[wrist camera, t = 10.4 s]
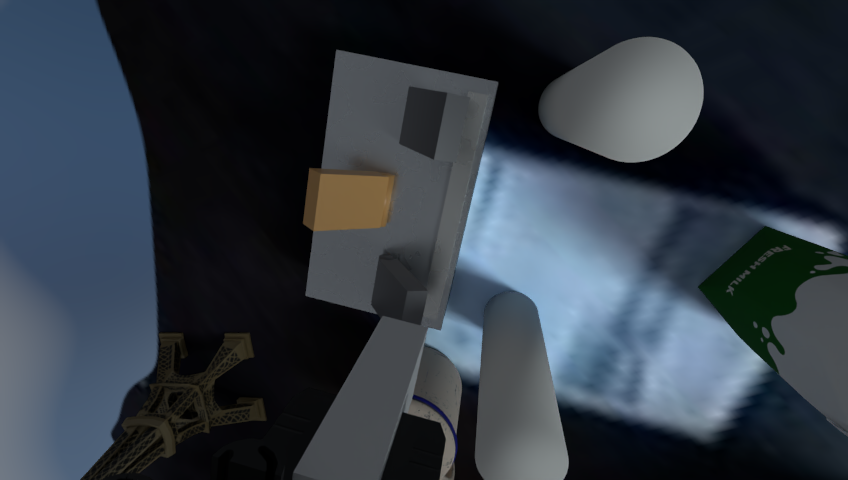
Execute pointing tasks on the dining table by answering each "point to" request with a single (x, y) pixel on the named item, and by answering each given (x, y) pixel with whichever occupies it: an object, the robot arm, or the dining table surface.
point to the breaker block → (397, 182)
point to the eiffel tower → (178, 407)
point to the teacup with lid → (439, 401)
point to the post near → (626, 100)
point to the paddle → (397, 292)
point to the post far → (517, 397)
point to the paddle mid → (347, 199)
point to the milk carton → (791, 313)
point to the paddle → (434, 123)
